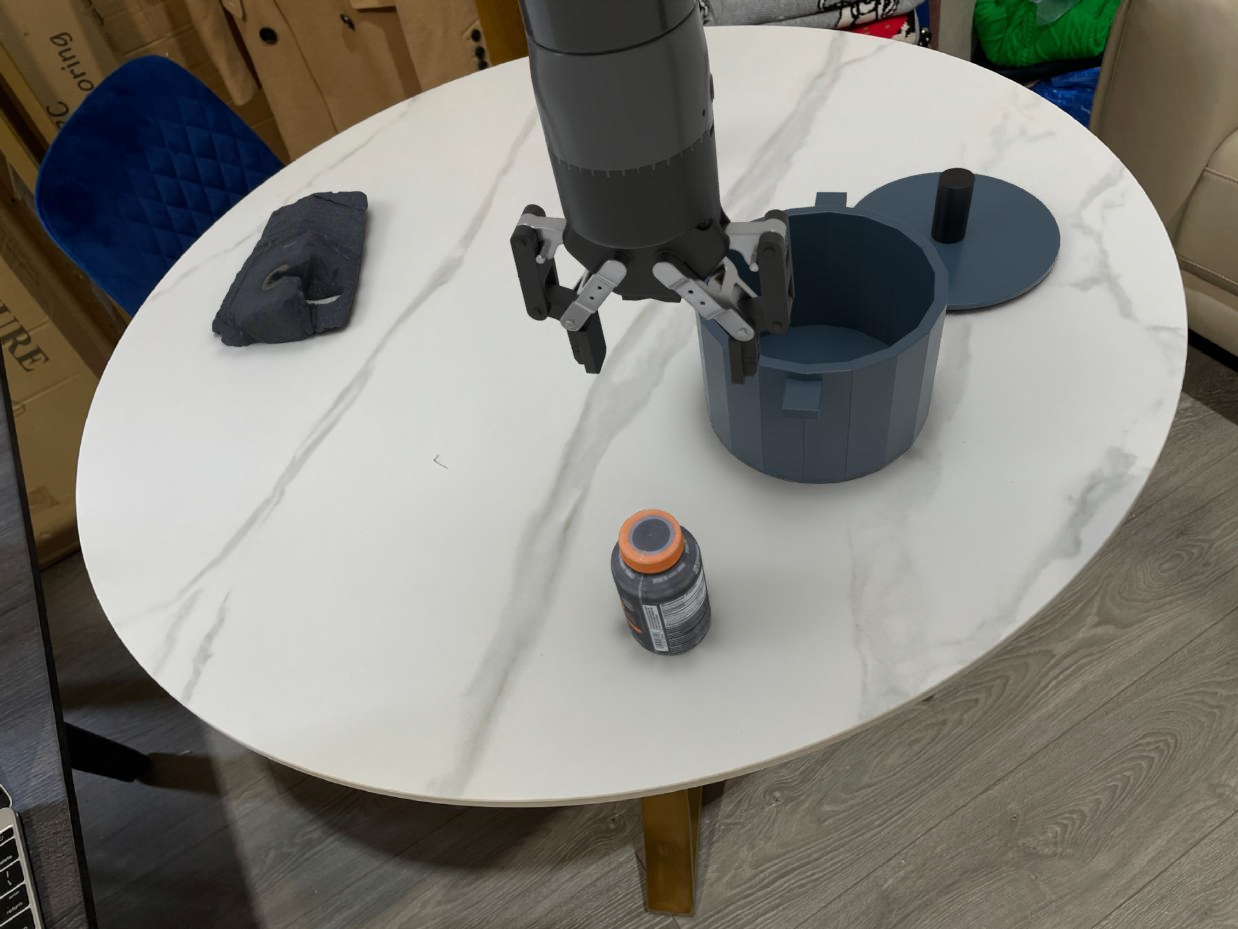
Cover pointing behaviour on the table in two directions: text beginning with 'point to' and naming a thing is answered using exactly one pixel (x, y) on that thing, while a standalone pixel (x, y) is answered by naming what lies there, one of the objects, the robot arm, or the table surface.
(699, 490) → the table surface
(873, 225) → the pot
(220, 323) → the dark slate chunk
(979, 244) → the lid
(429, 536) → the table surface
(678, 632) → the pill bottle
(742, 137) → the table surface
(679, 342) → the table surface
